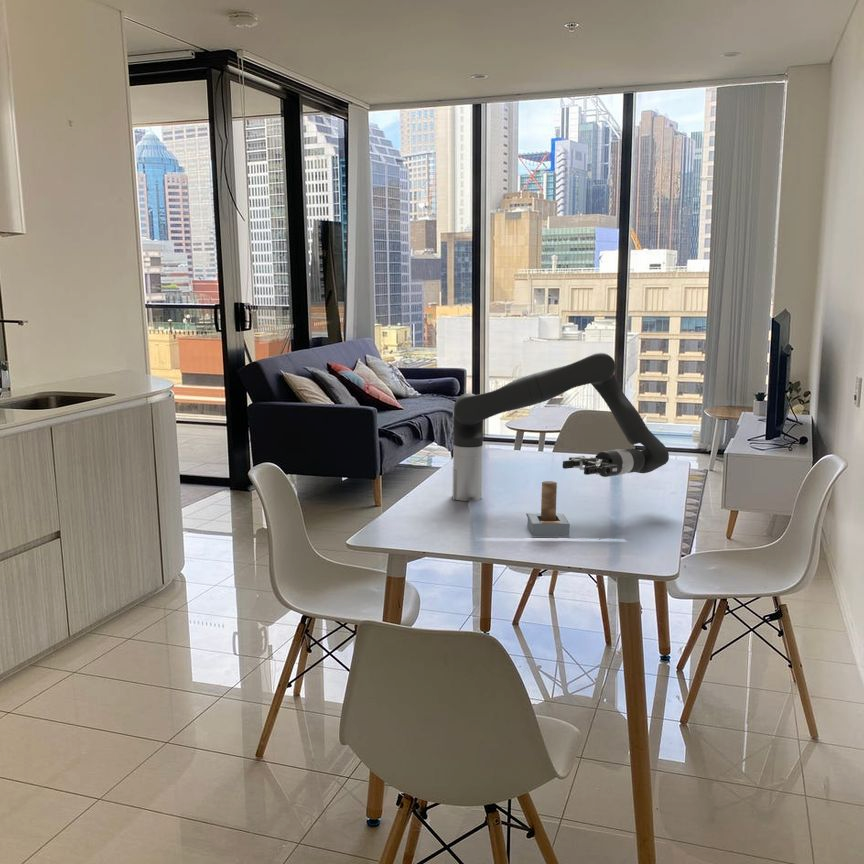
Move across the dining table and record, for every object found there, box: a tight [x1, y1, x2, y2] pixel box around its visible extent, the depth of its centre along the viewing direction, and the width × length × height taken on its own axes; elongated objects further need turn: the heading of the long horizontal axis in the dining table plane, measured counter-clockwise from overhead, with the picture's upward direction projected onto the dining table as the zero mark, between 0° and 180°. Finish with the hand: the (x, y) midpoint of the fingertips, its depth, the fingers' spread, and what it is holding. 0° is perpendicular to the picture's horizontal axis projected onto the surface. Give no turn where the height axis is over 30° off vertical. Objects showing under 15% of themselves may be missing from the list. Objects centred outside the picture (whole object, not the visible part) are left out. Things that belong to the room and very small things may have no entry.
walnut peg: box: [540, 480, 558, 521], centre depth 235 cm, size 4×4×14 cm
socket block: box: [527, 513, 571, 539], centre depth 236 cm, size 10×10×4 cm
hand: (574, 467), depth 242 cm, fingers open, 8 cm apart
